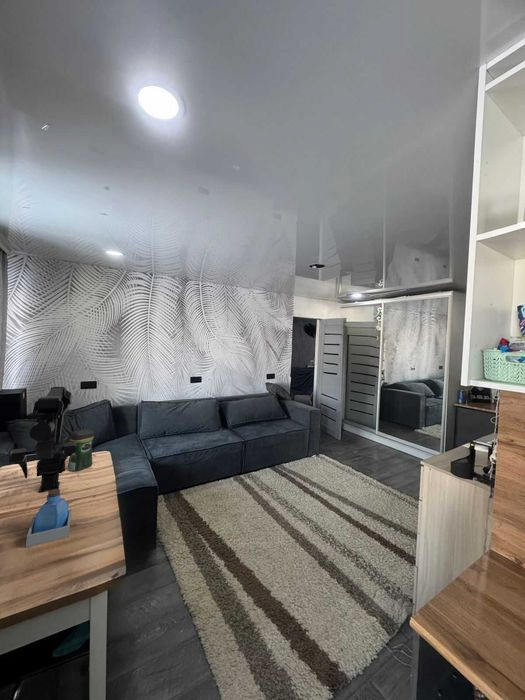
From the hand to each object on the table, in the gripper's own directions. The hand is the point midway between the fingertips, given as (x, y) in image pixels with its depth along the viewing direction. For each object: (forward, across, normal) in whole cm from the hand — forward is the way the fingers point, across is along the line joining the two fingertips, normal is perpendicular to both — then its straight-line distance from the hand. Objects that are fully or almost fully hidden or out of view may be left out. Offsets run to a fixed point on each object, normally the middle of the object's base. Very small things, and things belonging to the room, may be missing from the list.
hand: (43, 475), depth 98 cm
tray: (+12, +3, -17) cm, 21 cm away
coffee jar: (+12, +14, +32) cm, 37 cm away
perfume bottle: (+11, +3, -17) cm, 21 cm away
